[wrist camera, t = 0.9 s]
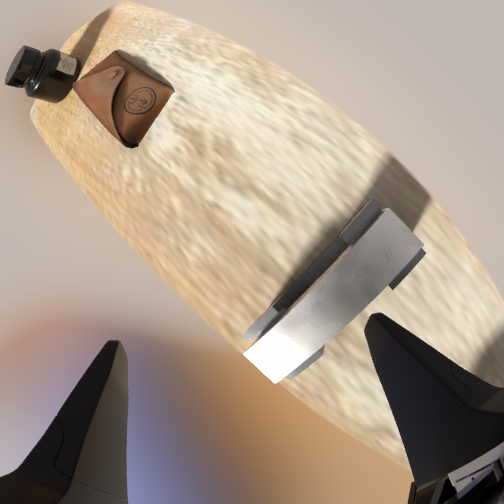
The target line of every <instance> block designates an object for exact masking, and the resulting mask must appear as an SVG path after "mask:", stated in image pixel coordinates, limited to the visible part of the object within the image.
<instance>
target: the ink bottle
mask: <svg viewBox="0 0 504 504" xmlns="http://www.w3.org/2000/svg"><path fill="white" fill-rule="evenodd" d="M79 70H80V62H79V60H78V59H77V58H75V57H72V56H70V55H68V54H65V53H63V52H60V51H58V50H55V49H49V50H47V51H45V52H42V53H41V52H40V51H39V50H37V49H34V48H31V47H28V46H23V47H22V48H21V49H20V50H19V52H18V53H17V55H16V56H15V58H14V60H13V62H12V64H11V65H10V68H9V70H8V72H7V76H6V79H5V84H6V85H9V86H14V87H18V88H23V87H24V88H25V90H26V94H27V95H28V96H29V97H32V98H36V99H40V100H44V101H48V102H51V103H58V102H60V101H62V100H63V99H64V98H65V96H66V95H67V94H68V92H69V91H70V89H71V88H72V86H73V83H74V82H75V80H76V78H77V76H78V73H79Z"/></svg>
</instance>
